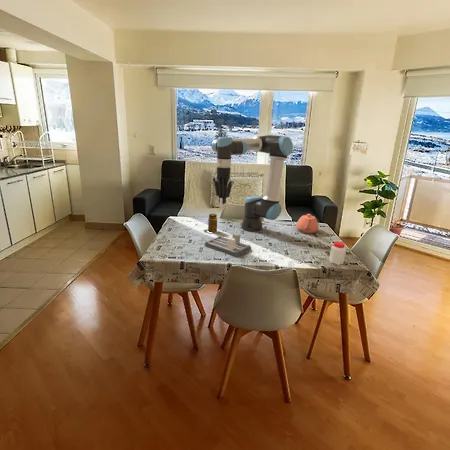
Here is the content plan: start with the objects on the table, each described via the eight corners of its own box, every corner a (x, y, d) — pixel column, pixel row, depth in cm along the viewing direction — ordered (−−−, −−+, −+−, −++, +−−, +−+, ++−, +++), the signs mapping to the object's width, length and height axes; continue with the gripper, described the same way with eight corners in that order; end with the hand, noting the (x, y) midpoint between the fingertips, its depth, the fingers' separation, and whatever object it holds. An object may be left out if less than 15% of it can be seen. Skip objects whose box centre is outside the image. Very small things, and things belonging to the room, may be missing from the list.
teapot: (319, 237, 201) (322, 220, 197) (295, 235, 204) (297, 217, 200) (316, 227, 221) (319, 211, 217) (295, 225, 224) (297, 209, 220)
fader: (227, 248, 171) (227, 238, 169) (230, 247, 173) (230, 237, 171) (232, 250, 169) (232, 240, 167) (235, 248, 171) (235, 238, 169)
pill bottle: (328, 263, 163) (331, 244, 159) (329, 257, 170) (332, 239, 166) (343, 265, 160) (347, 247, 157) (343, 260, 167) (347, 242, 164)
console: (204, 245, 179) (205, 232, 177) (219, 239, 190) (219, 227, 187) (237, 257, 165) (238, 243, 163) (251, 249, 176) (252, 236, 173)
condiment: (219, 232, 204) (219, 215, 200) (208, 234, 199) (209, 216, 195) (213, 229, 209) (214, 212, 206) (203, 230, 205) (203, 214, 201)
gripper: (210, 166, 162) (209, 207, 169) (229, 168, 154) (227, 212, 162) (218, 164, 168) (217, 205, 175) (237, 167, 160) (235, 209, 168)
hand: (222, 208), depth 168 cm, fingers closed
